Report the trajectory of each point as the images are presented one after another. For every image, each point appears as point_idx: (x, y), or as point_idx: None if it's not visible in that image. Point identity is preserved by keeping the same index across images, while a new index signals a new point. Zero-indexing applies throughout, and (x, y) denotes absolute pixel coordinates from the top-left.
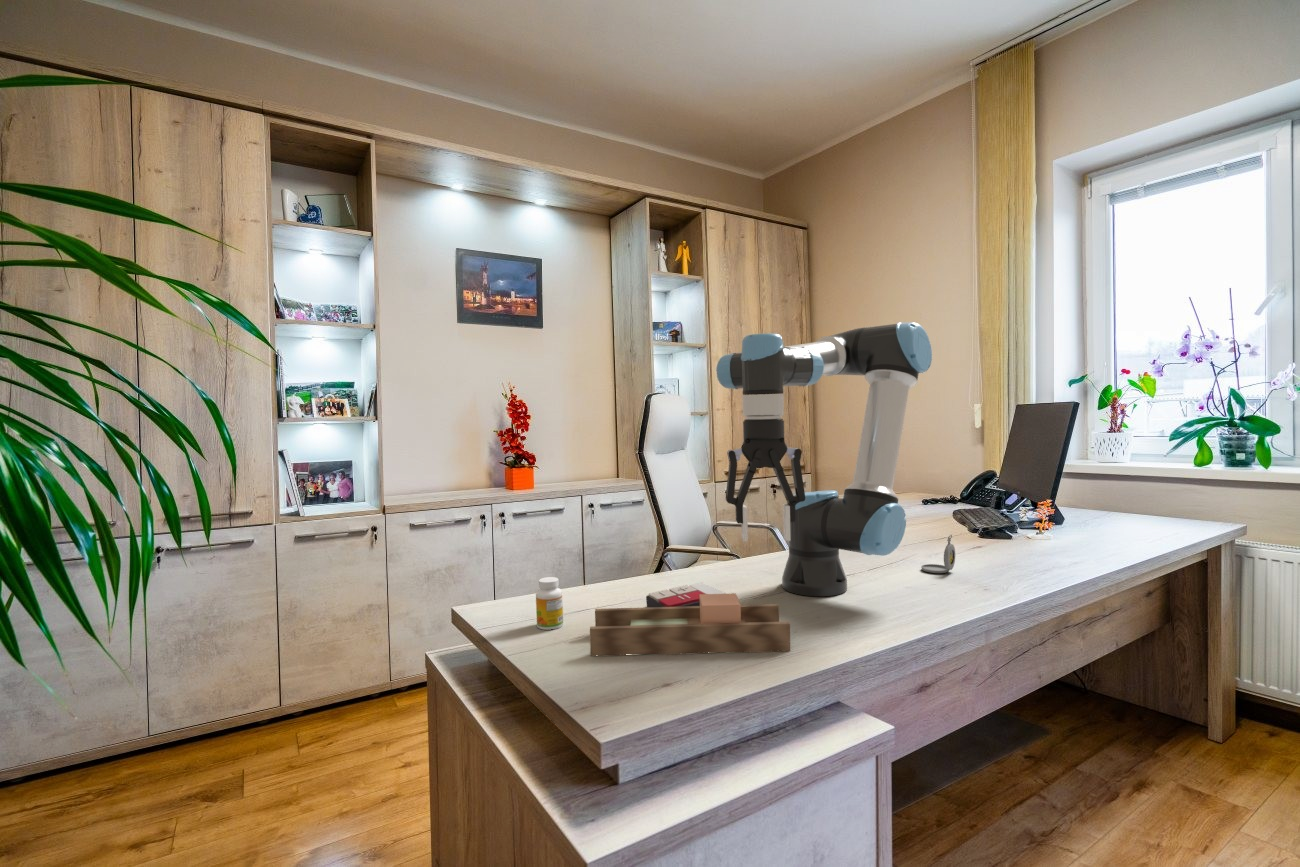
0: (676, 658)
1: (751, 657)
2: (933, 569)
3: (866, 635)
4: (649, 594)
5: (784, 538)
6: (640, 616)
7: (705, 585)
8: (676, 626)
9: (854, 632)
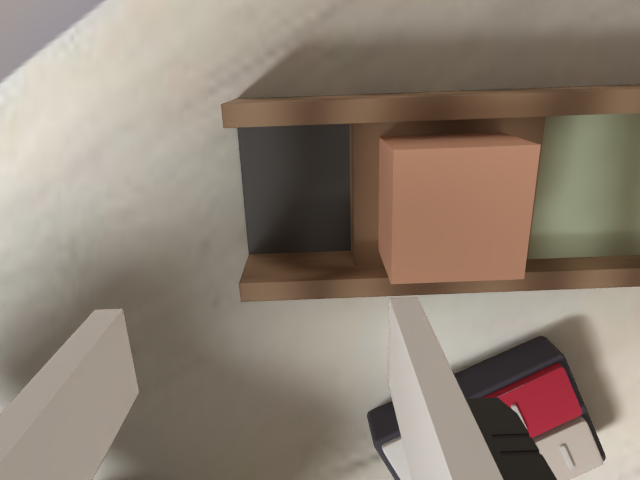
0: (571, 54)
1: (354, 54)
2: None
3: (5, 213)
4: (601, 458)
5: (132, 367)
6: None
7: None
8: (612, 92)
9: (38, 237)
